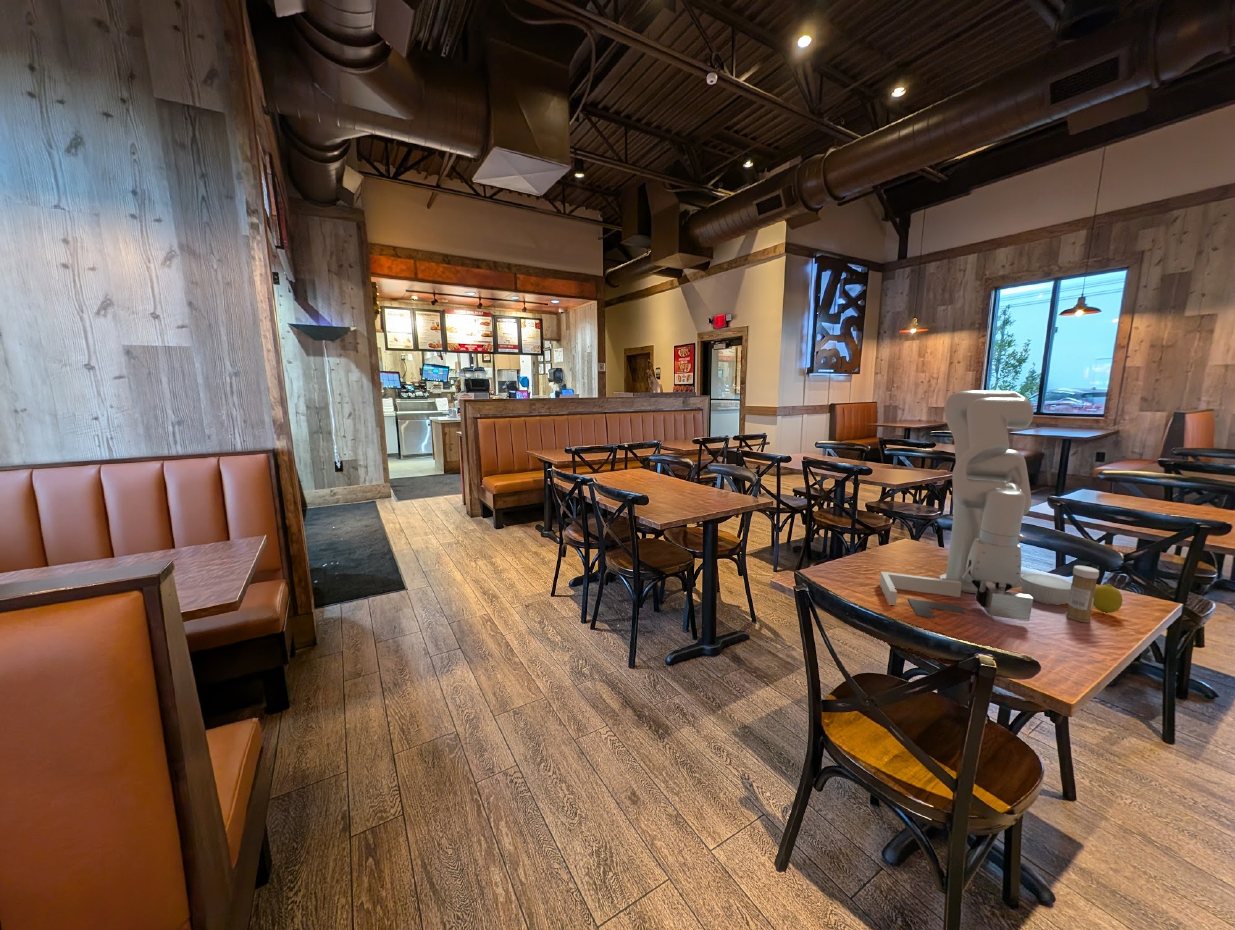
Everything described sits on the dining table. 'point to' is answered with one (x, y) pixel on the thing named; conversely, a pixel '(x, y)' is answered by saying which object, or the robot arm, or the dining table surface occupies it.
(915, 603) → the pose mat
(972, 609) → the dining table surface
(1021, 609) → the angle bracket
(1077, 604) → the sprinkles bottle
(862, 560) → the dining table surface
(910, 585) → the light grey l-shaped block
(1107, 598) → the lemon
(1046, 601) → the ramekin
